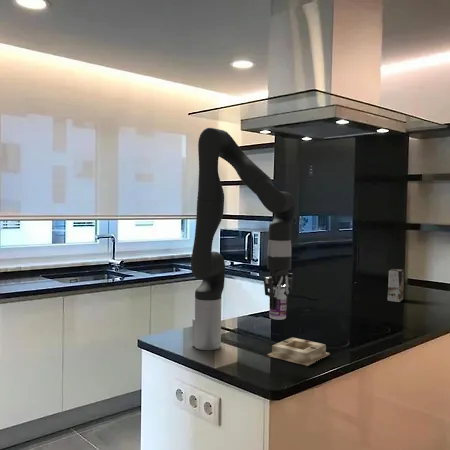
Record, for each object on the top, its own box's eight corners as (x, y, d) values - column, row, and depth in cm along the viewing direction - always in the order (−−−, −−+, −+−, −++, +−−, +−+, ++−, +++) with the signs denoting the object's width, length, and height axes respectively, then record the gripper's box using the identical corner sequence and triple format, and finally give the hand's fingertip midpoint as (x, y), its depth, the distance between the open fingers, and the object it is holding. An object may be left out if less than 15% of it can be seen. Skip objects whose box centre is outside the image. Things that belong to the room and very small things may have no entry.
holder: (267, 356, 163) (267, 344, 163) (291, 346, 175) (291, 335, 175) (307, 366, 154) (307, 354, 153) (329, 354, 165) (330, 343, 165)
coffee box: (400, 302, 255) (401, 271, 254) (387, 300, 258) (388, 270, 257) (403, 299, 263) (404, 269, 262) (391, 298, 266) (392, 268, 265)
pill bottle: (283, 320, 154) (284, 290, 153) (267, 318, 156) (267, 288, 155) (288, 317, 159) (288, 287, 158) (272, 315, 161) (272, 285, 160)
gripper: (281, 251, 164) (280, 302, 165) (256, 255, 153) (255, 309, 154) (301, 253, 159) (300, 305, 160) (276, 257, 148) (275, 312, 149)
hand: (278, 307), depth 157 cm, fingers closed on pill bottle, 5 cm apart
